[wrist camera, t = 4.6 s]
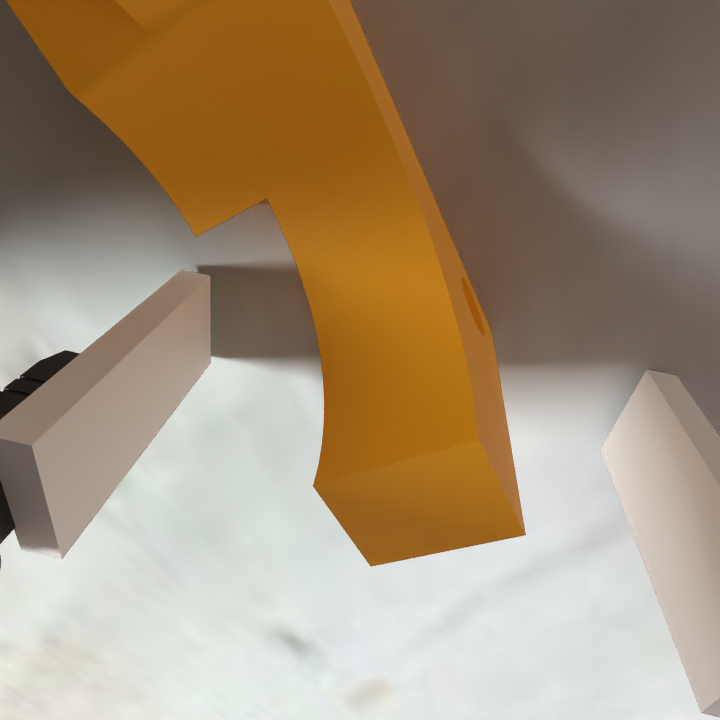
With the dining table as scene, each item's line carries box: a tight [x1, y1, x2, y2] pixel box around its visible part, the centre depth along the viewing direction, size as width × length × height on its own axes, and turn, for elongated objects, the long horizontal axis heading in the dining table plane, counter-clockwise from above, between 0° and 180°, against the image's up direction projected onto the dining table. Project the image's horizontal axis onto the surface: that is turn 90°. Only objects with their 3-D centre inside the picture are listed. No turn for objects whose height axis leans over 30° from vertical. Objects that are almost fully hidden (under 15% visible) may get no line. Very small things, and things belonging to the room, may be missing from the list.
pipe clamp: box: [6, 0, 526, 566], centre depth 8 cm, size 12×4×6 cm, turn 27°
